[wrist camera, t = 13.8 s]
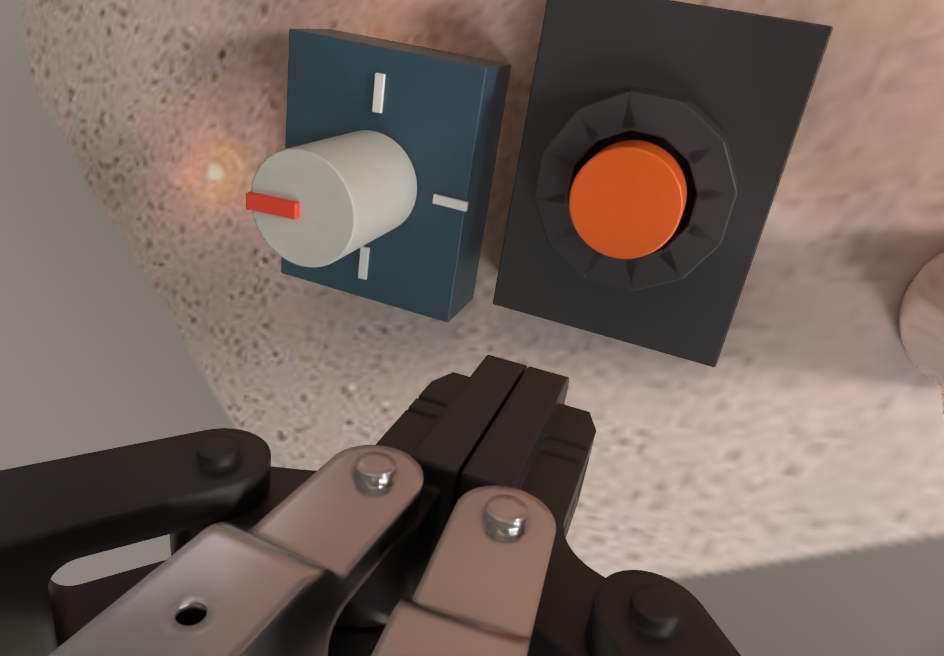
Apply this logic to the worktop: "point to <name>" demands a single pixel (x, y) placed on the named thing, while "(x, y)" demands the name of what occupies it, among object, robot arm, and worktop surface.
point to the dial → (332, 196)
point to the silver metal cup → (925, 321)
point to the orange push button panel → (678, 132)
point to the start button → (628, 199)
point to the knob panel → (428, 147)
